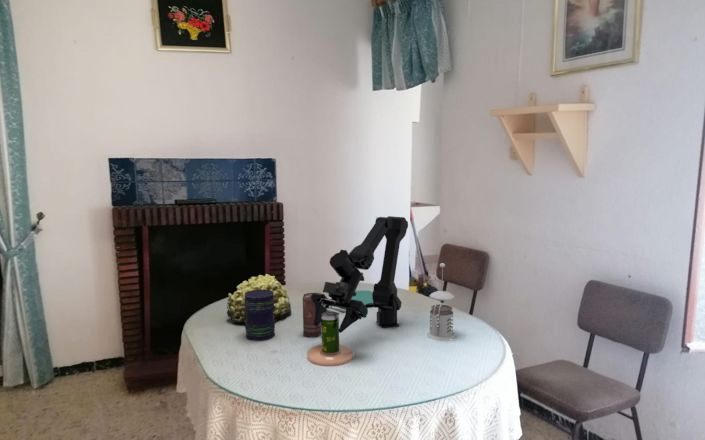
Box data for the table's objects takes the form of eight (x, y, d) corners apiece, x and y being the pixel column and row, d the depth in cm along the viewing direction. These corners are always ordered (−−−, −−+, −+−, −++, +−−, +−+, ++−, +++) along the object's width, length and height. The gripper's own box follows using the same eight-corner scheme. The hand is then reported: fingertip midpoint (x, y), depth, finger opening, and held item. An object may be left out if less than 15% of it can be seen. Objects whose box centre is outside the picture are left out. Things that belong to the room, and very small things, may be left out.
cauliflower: (295, 323, 181) (294, 281, 179) (227, 329, 176) (225, 286, 173) (287, 304, 205) (286, 266, 203) (227, 308, 200) (225, 270, 197)
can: (319, 338, 166) (318, 297, 165) (301, 336, 168) (300, 296, 166) (323, 331, 172) (323, 292, 170) (306, 330, 174) (305, 291, 172)
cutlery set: (395, 301, 208) (395, 296, 207) (340, 318, 188) (340, 312, 188) (363, 292, 223) (363, 287, 222) (309, 307, 203) (308, 302, 203)
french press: (458, 332, 171) (460, 261, 168) (450, 344, 160) (452, 268, 157) (431, 328, 175) (432, 259, 172) (421, 339, 165) (422, 265, 161)
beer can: (334, 347, 155) (334, 310, 153) (342, 353, 150) (341, 315, 149) (319, 350, 153) (318, 312, 151) (326, 356, 148) (325, 318, 146)
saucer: (344, 345, 160) (344, 341, 160) (359, 361, 147) (359, 357, 147) (302, 351, 156) (302, 347, 155) (314, 369, 142) (314, 364, 142)
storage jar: (261, 343, 162) (259, 299, 160) (239, 337, 167) (237, 294, 165) (281, 334, 170) (280, 291, 169) (259, 329, 176) (258, 287, 174)
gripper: (313, 267, 156) (290, 310, 149) (362, 275, 146) (341, 321, 138) (328, 286, 164) (307, 328, 156) (376, 294, 153) (357, 340, 146)
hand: (327, 329), depth 149 cm, fingers open, 9 cm apart
